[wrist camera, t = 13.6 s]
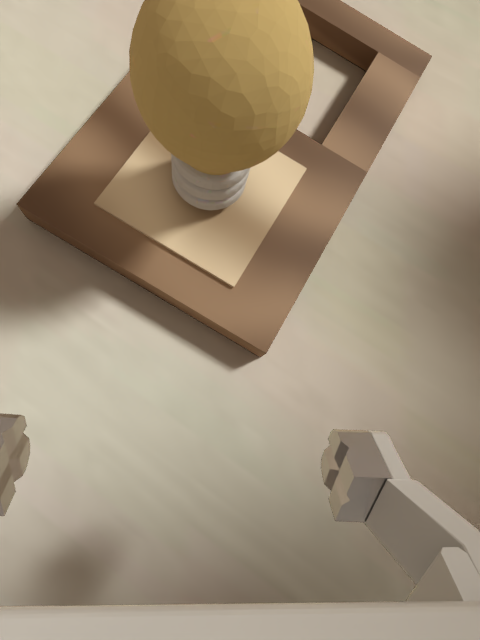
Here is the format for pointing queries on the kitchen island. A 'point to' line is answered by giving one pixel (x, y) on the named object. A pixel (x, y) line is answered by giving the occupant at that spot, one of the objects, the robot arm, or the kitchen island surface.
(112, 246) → the socket board
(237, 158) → the light bulb
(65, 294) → the kitchen island surface
